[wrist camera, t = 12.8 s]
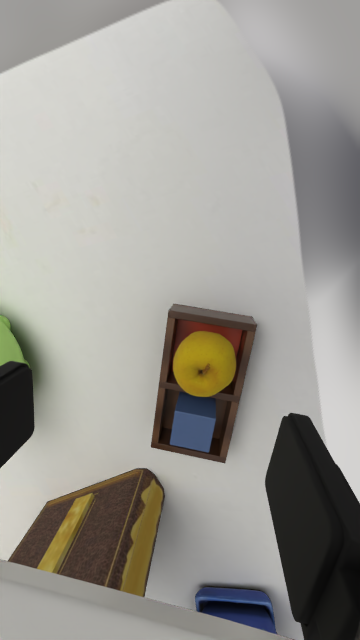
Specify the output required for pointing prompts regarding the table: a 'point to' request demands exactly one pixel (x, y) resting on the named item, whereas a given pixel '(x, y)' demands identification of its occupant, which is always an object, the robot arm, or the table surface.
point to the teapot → (9, 344)
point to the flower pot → (237, 606)
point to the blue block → (193, 422)
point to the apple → (204, 363)
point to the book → (99, 533)
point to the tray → (227, 400)
